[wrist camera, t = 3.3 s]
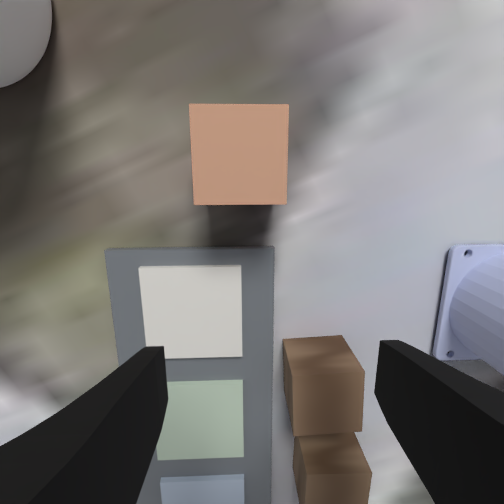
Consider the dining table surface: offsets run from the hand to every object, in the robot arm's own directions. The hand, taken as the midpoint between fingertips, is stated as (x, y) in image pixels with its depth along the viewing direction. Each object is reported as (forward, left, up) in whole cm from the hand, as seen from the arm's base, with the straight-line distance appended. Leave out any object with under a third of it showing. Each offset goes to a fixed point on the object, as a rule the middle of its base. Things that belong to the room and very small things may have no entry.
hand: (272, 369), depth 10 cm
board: (+4, +10, -9) cm, 14 cm away
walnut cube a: (-4, +6, -10) cm, 12 cm away
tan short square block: (+1, -7, -10) cm, 12 cm away
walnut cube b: (-5, +13, -10) cm, 17 cm away
